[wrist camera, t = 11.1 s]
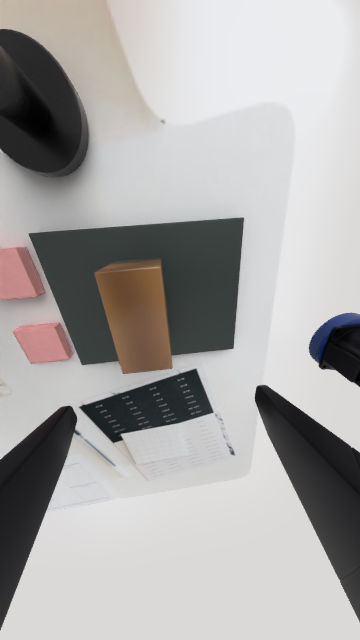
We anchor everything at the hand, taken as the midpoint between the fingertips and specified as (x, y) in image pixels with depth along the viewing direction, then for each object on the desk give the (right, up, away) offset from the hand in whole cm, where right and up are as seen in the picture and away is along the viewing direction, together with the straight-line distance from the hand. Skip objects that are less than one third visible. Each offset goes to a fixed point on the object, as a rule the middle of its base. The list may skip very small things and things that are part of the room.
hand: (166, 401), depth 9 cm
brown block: (-3, +6, +8) cm, 10 cm away
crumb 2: (-14, +2, +10) cm, 17 cm away
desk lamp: (-9, +17, +3) cm, 20 cm away
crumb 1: (-14, +8, +7) cm, 18 cm away
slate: (-2, +6, +9) cm, 11 cm away
